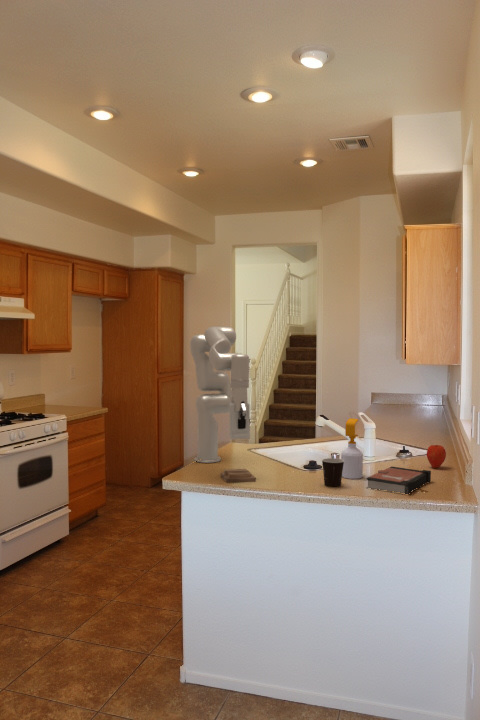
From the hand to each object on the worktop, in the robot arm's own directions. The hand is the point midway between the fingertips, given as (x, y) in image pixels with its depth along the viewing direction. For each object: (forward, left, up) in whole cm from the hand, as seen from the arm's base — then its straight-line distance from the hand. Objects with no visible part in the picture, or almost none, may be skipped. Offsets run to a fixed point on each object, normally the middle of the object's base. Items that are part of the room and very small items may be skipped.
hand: (239, 426), depth 246 cm
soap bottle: (+7, +48, -22) cm, 53 cm away
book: (+24, +60, -22) cm, 68 cm away
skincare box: (0, 0, -5) cm, 5 cm away
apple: (0, +93, -22) cm, 95 cm away
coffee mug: (+20, +33, -22) cm, 44 cm away
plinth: (0, 0, -21) cm, 21 cm away
